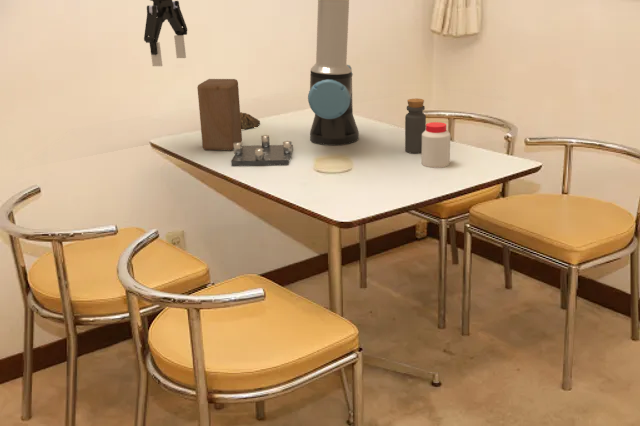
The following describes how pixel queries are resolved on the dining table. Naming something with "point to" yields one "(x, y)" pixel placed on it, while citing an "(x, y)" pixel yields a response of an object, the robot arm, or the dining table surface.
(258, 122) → the brown rounded lump
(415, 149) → the bottle
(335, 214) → the dining table surface
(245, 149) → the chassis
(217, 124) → the wooden block
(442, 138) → the pill bottle
